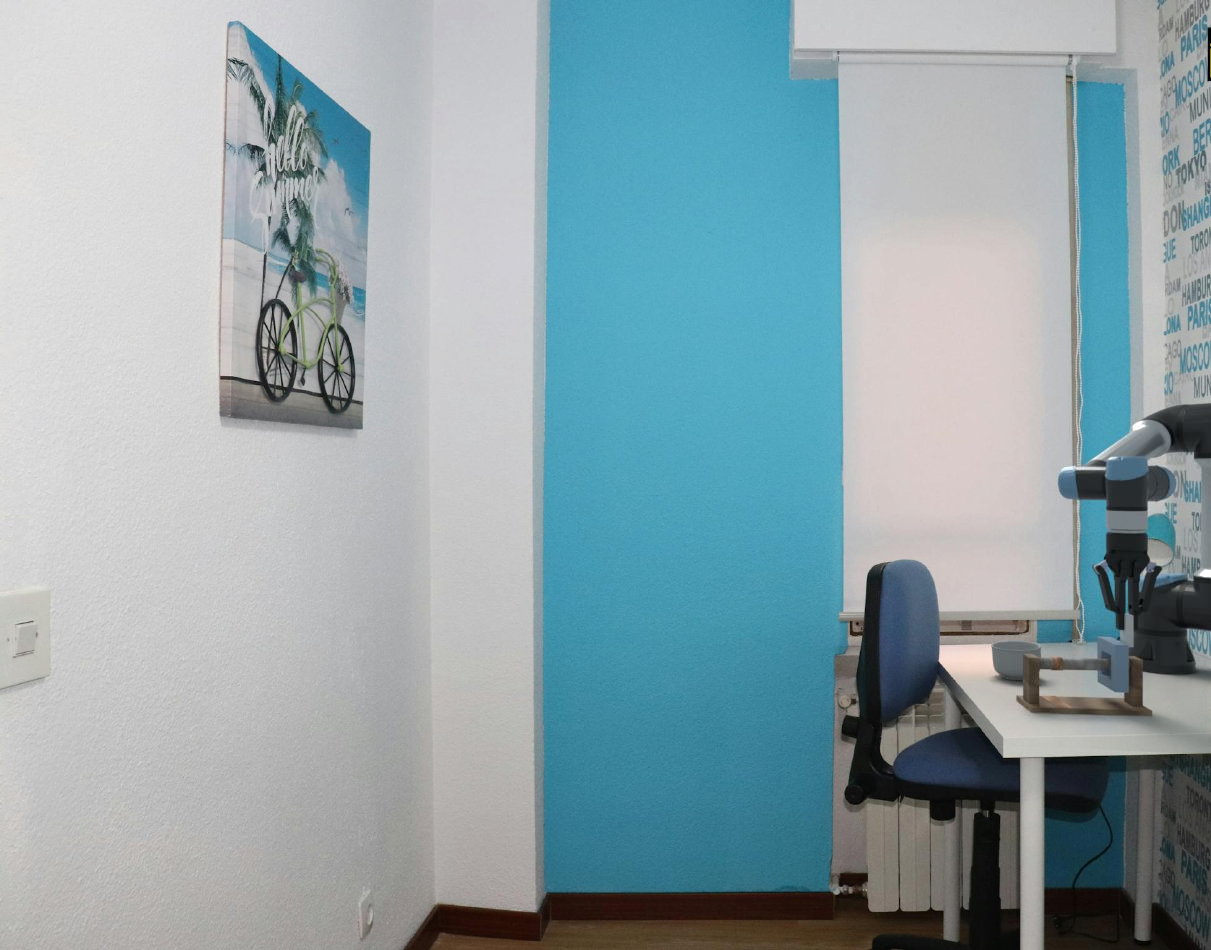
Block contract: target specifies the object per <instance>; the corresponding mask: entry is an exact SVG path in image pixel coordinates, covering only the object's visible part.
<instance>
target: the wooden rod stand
mask: <svg viewBox="0 0 1211 950" xmlns="http://www.w3.org/2000/svg"><path fill="white" fill-rule="evenodd" d="M1039 669H1040V670H1050V671H1097V672H1098V671H1111V659H1098V658H1086V657H1084V658H1080V657H1078V658H1077V657H1075V658H1073V657H1061V656H1050V657H1041V658H1038V657H1037V656H1035V655H1033V654H1023V680H1022V695H1016V697H1015V700H1016V701H1017V702H1018V703H1019V704H1021V706H1023V707H1024V708H1025V709H1026V710H1028V711H1029V712H1030V713H1037V714H1038V713H1040V714H1041V713H1043V714H1044V713H1045V714H1073V715H1074V714H1075V715H1076V714H1077V715H1078V714H1079V715H1080V714H1081V715H1111V716H1112V715H1114V716H1115V715H1119V716H1149V717H1150V716H1151V717H1152V716H1153V710H1151V709H1150V708H1148V707H1146V706H1145V705H1144V671H1143V660H1141V659H1139V658H1137V657H1135V656H1129V693H1123V697H1095V696H1094V697H1091V696H1090V697H1089V696H1088V697H1087V696H1085V697H1084V696H1056V695H1040V672H1039Z"/></svg>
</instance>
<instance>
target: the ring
mask: <svg viewBox="0 0 1211 950" xmlns="http://www.w3.org/2000/svg"><path fill="white" fill-rule="evenodd" d="M1096 648H1097V649H1096V650H1097V652H1096V653H1097V655H1096V656H1097V659H1111V671H1097V683H1099V684H1100V685H1102V686H1104V687H1105V688H1107V689H1109V690H1110V691H1113V692H1114V693H1123V694H1124V693H1129V645H1127V644H1125V643H1123V642H1121V641H1120V640H1118V639H1116V638H1114V637H1112V636H1097V647H1096Z"/></svg>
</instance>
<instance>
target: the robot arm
mask: <svg viewBox="0 0 1211 950" xmlns="http://www.w3.org/2000/svg"><path fill="white" fill-rule="evenodd" d="M1169 453H1174V454H1175V453H1193V461H1194V462H1195V463H1196V464H1198V465H1199V466H1200V472H1201V474H1200V476H1201V479H1200V482H1201V483H1200V484H1201V487H1200V489H1201V490H1200V494H1201V495H1200V496H1201V497H1200V498H1201V499H1200V505H1201V506H1200V508H1201V509H1200V568H1199V569H1198V570H1196V571H1195V572H1194V573H1193V576H1192V578H1193V580H1190V579H1189V577H1188V574H1186V573H1181V572H1179V573H1175V572H1174V573H1161V572H1162V571H1163V567H1162V566H1161V565H1156V564H1155V563H1154V562H1152V561H1151V557H1150V556H1149V555H1148V552H1149V551H1148V550H1149V535H1148V533H1147V532H1145V531H1147V530H1148V529H1149V518H1148V517H1149V514H1148V512H1149V511H1148V503H1149V502H1154V503H1155V502H1156V503H1157V502H1160V501H1164V500H1166V499H1169V498H1170V497H1171V496H1172V495H1173V494H1174V493H1175V491H1176V488H1177V478H1176V476H1175V475H1174V473H1173V471H1172V470H1170V469H1169V468H1167V467H1165V466H1161V465H1157V464H1156V465H1151V464H1150V465H1149V463H1148V461H1149V460H1151V459H1154V458H1159V457H1162V456H1163V455H1165V454H1169ZM1057 486H1058V490H1059V494H1060V495H1061V496H1062V497H1063V498H1065V499H1066V500H1078V501H1105V502H1106V505H1105V506H1106V507H1105V528H1106V529H1107V530H1109V531H1107V532H1106V533H1105V551H1106V553H1105V554H1104V557H1103V560H1102V561H1100V562H1099V563H1097V564H1095V563H1094V564H1093V565H1092V566H1091V568H1092V570H1093V571H1094V573H1095V575H1096V576H1097V580H1098V583H1099V587H1100V591H1101V595H1102V599H1103V603H1104V607H1105V609H1106V610H1107V611H1110V612H1113V613H1114V614H1115V627H1116V630H1119V641H1121V642H1123V643H1125V644H1127V645H1129V656H1135V657H1137V658H1139V659H1141V660H1143V672H1150V673H1160V674H1177V675H1179V674H1191V673H1195V672H1196V670H1197V668H1196V666H1197V665H1196V663H1197V662H1196V660H1195V656H1194V654H1193V651H1192V647H1191V645H1190V643H1189V639H1188V630H1196V631H1203V632H1204V631H1205V632H1211V402H1208V403H1205V402H1204V403H1193V404H1191V403H1190V404H1187V403H1186V404H1178V405H1173V406H1169V407H1166V408H1163V409H1160V410H1158V411H1156V412H1153V413H1152V414H1149V415H1147V416H1146V417H1143V418H1141V419H1140V420H1138V421H1137V422H1136V423H1134V424H1133V425H1132V426H1131V427H1130V429H1129V431H1128V434H1126V435H1124V437H1122V438H1120V439H1119V440H1117V441H1116V442H1115V443H1113V444H1112V445H1110V446H1109V447H1107V448H1106V449H1105V450H1103V451H1102V452H1100V453H1099V454H1097V455H1096V456H1095V457H1093V458H1092V459H1091V460H1089V461H1087V462H1086V463H1084V464H1083V465H1071V466H1064V467H1063V468H1062V469H1061V470H1060V471H1059V473H1058V476H1057ZM1108 569H1109V570H1110V571H1111V572H1112V574H1113V580H1114V594H1113V589H1112V585H1111V582H1110V578H1109V575H1108V573H1107V572H1108ZM1144 570H1145V572H1146V573H1145V575H1141V574H1142V573H1143V571H1144ZM1126 583H1127V584H1126ZM1126 590H1127V591H1126ZM1126 596H1127V597H1126ZM1126 601H1127V603H1126ZM1126 604H1127V605H1126ZM1126 607H1127V609H1126ZM1126 612H1128V613H1126Z"/></svg>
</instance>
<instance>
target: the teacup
mask: <svg viewBox="0 0 1211 950" xmlns="http://www.w3.org/2000/svg"><path fill="white" fill-rule="evenodd" d="M990 646H991V655H992V656H991V657H992V664H993V665H992V666H993V668H994V670H995V672H996V673H997V674H999V675H1000V676H1001V678H1003V679H1006V680H1010V681H1023V654H1033V655H1035V656H1037V657H1038V658H1042V646H1041V644H1039V643H1036V642H1032V641H1025V640H1005V639H1001V640H999V641H996V642H993V643H991V645H990ZM1040 672H1041V669H1039V673H1040Z"/></svg>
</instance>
